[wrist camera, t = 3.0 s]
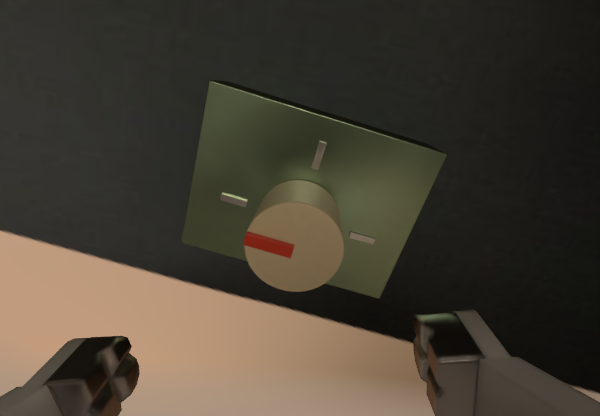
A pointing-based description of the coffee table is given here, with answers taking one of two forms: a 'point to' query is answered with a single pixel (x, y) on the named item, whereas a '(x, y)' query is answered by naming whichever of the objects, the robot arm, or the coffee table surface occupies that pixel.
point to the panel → (306, 178)
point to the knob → (295, 237)
